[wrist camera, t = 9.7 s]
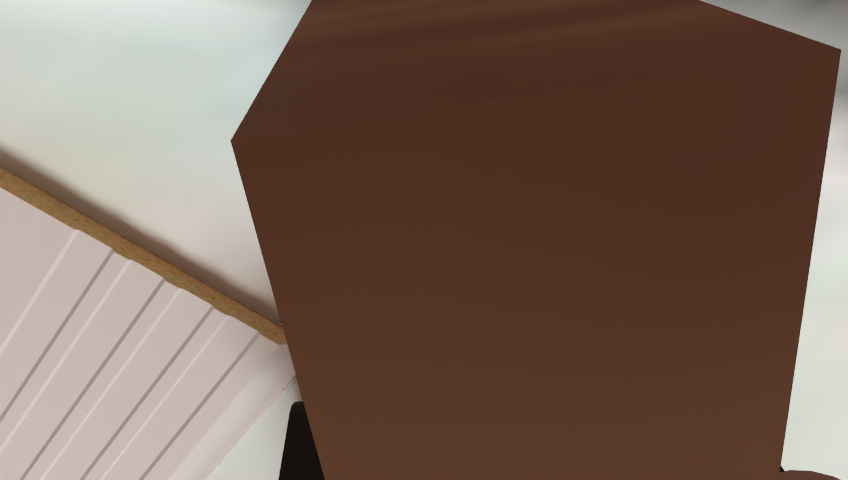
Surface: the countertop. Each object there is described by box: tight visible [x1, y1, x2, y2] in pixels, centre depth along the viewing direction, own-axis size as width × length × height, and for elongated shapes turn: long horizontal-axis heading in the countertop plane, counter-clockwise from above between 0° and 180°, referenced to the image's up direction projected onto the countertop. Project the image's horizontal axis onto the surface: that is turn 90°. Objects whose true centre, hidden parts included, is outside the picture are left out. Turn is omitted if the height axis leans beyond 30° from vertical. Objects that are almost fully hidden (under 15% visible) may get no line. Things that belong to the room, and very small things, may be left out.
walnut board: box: [231, 0, 841, 480], centre depth 12 cm, size 12×3×13 cm, turn 8°
